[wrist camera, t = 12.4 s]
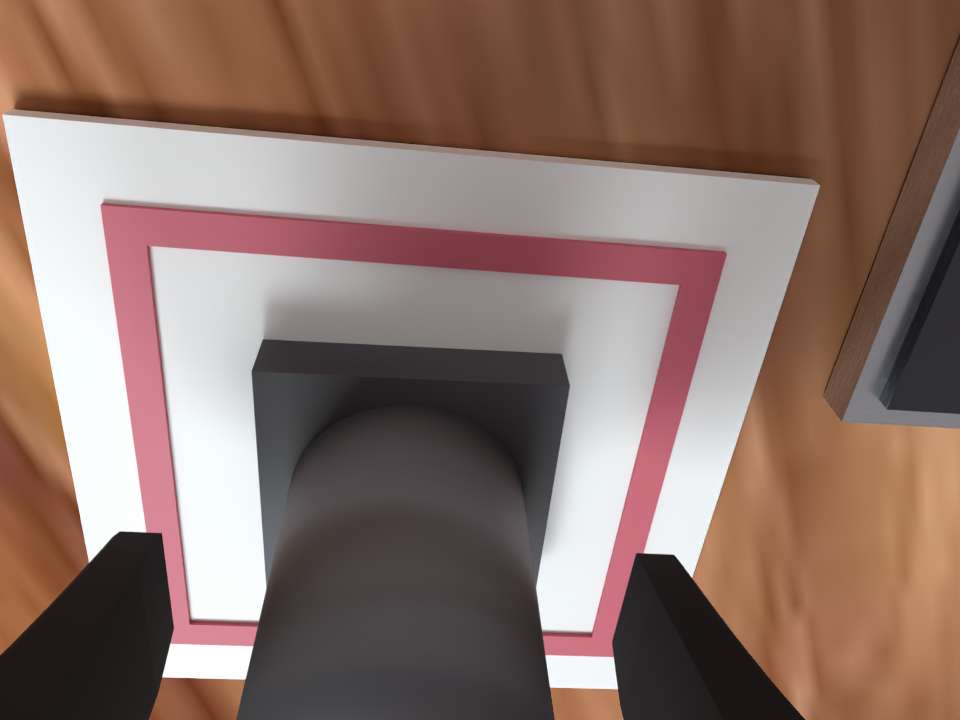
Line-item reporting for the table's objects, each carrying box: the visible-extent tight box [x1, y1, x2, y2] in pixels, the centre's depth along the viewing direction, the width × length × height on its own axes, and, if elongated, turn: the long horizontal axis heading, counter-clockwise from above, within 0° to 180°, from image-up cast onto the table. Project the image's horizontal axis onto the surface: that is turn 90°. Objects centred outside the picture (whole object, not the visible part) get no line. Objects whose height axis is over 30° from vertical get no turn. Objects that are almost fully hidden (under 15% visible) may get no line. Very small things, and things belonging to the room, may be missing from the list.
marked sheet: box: [3, 109, 820, 689], centre depth 15 cm, size 12×12×1 cm
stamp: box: [236, 339, 570, 720], centre depth 13 cm, size 5×5×6 cm
